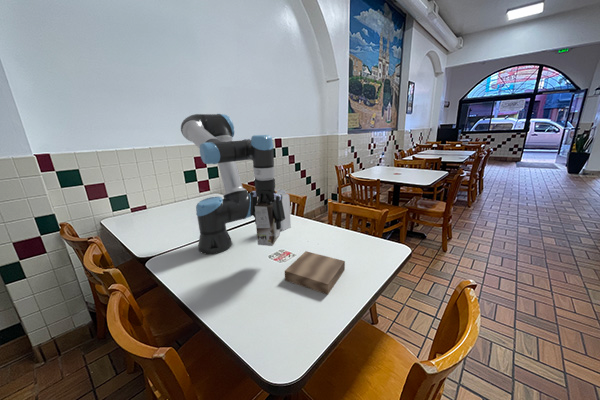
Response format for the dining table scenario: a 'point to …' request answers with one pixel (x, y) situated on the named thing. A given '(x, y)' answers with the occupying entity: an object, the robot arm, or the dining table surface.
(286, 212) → the milk
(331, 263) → the walnut pedestal
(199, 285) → the dining table surface
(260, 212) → the coffee box
